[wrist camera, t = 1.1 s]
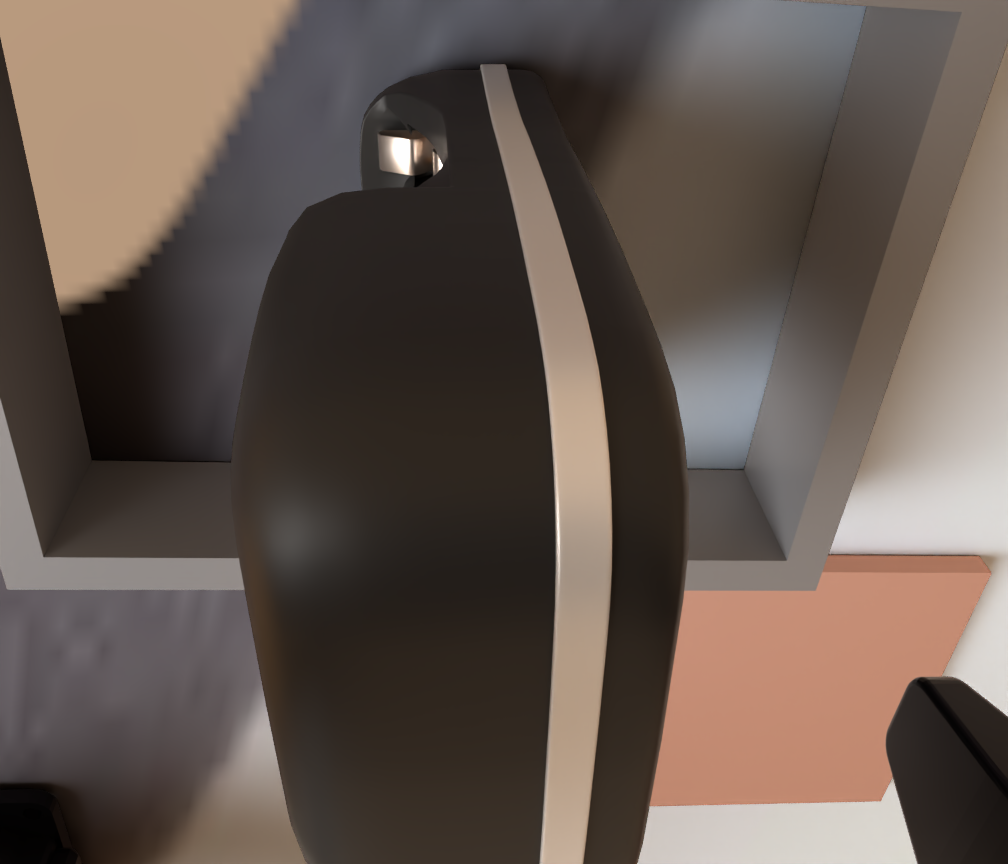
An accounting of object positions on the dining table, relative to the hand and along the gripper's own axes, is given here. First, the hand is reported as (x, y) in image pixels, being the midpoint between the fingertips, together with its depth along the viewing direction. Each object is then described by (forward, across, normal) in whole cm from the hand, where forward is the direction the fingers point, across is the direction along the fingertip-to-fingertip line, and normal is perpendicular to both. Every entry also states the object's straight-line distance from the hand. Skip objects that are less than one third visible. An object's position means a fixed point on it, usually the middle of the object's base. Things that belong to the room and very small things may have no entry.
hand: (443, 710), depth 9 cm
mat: (+11, -9, +12) cm, 18 cm away
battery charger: (+11, 0, 0) cm, 11 cm away
